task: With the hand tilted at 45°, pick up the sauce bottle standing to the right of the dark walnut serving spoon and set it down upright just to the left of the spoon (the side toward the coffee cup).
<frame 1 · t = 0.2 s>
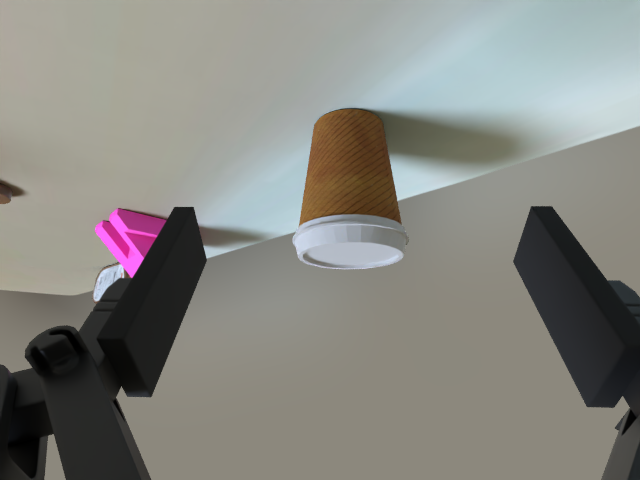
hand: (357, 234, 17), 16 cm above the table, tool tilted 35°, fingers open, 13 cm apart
bracket: (147, 225, 64), on the table
disposable coffee cup: (348, 126, 38), on the table
tin: (116, 264, 89), on the table
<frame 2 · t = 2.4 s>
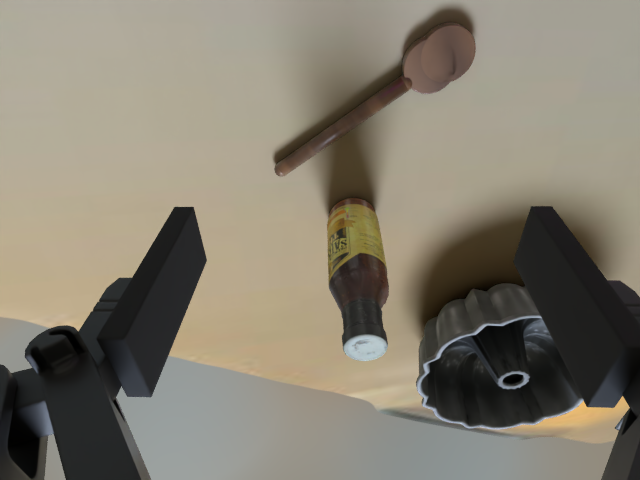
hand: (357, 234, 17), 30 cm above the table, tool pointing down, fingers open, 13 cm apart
wooden spoon: (369, 104, 44), on the table
bundt pan: (489, 324, 65), on the table
sauce bottle: (351, 216, 52), on the table
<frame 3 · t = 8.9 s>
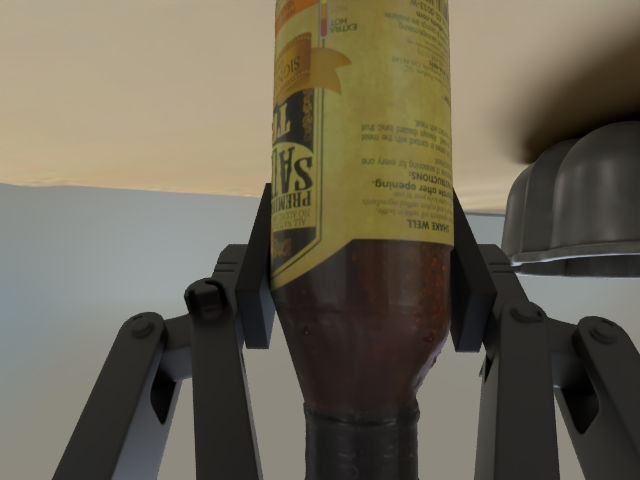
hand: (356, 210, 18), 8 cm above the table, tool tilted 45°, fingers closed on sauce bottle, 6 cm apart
when the fingers open (8 cm above the table, at t = 19.0 s): sauce bottle stays where it is, on the table.
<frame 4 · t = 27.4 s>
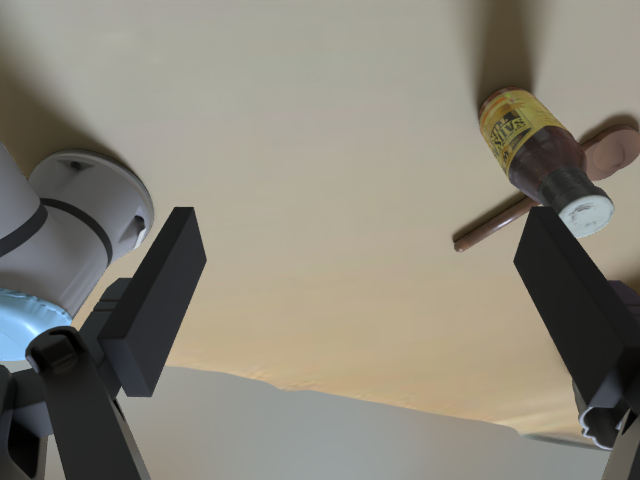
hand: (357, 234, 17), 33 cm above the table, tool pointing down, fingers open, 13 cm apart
wooden spoon: (541, 190, 52), on the table
bundt pan: (637, 356, 70), on the table
sauce bottle: (503, 113, 46), on the table
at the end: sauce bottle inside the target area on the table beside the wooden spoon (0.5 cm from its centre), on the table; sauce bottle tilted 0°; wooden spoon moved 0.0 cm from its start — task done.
